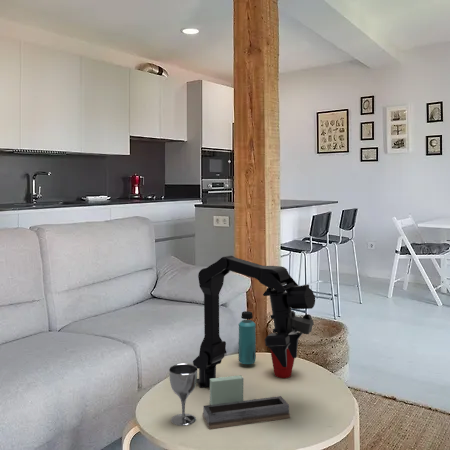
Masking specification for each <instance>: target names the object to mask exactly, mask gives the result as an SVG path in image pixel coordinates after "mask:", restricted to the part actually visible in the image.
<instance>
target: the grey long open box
mask: <svg viewBox="0 0 450 450" xmlns="http://www.w3.org/2000/svg"><path fill="white" fill-rule="evenodd" d="M202 408H203V409H202V410H203V412H202V417H203V420H204V422H205V423H206V425H207V428H208V429H209V430H214V429H221V428H222V429H223V428H228V427H235V426H237V427H238V426H243V425H248V424H251V425H252V424H257V423H263V422H264V423H265V422H272V421H278V420H279V421H280V420H284V419H285V420H287V419H291V414H290V411H289V410H290V405H289V403H288V402H287V401H286V400H285V399H284V398H283V396H281V395H277V396H272V397H271V396H270V397H264V398H263V397H262V398H256V399H254V398H253V399H247V400H243V401H237V402H230V403H222V404H214V405H210V404H208V405H203V406H202Z"/></svg>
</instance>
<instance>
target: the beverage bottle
mask: <svg viewBox="0 0 450 450" xmlns="http://www.w3.org/2000/svg"><path fill="white" fill-rule="evenodd" d="M240 316H241V319H242V320H241V321H240V322H239V323H238V349H237V350H238V351H237V353H238V354H237V356H238V362H239V363H240V364H243V365H252V364H255V363H256V359H257V348H256V347H257V342H256V340H257V339H256V338H257V337H256V326H257V325H256V323H255V322H254V321H253V320H252V319H253V318H254V317H253V311H249V310H248V311H247V310H246V311H242V312H241V315H240Z"/></svg>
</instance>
